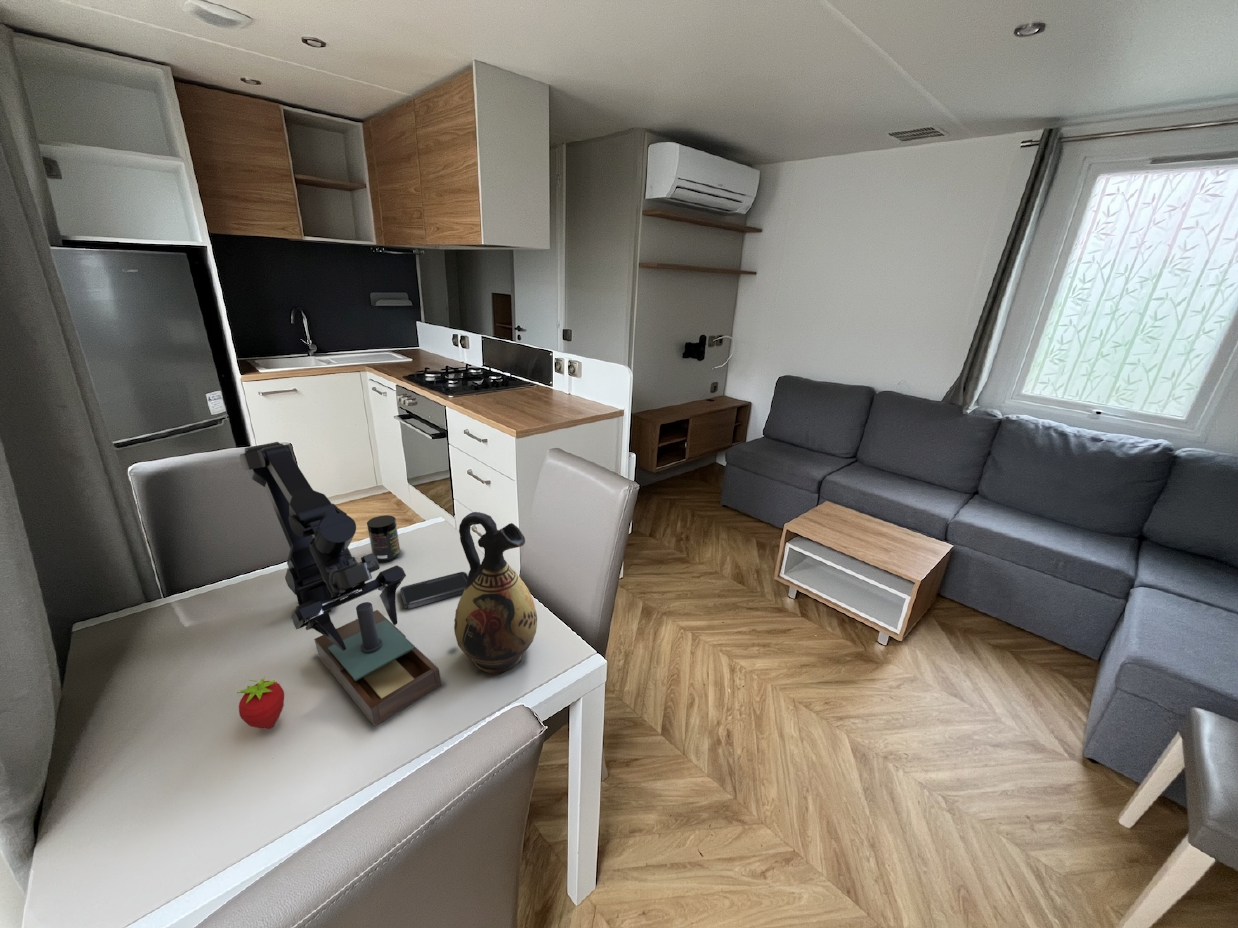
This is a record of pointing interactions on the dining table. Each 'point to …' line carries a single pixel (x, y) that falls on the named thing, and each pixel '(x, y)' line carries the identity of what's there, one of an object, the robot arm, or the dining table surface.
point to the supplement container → (384, 538)
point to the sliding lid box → (382, 677)
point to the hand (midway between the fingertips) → (371, 636)
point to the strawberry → (261, 704)
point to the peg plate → (370, 644)
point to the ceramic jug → (493, 600)
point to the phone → (433, 590)
